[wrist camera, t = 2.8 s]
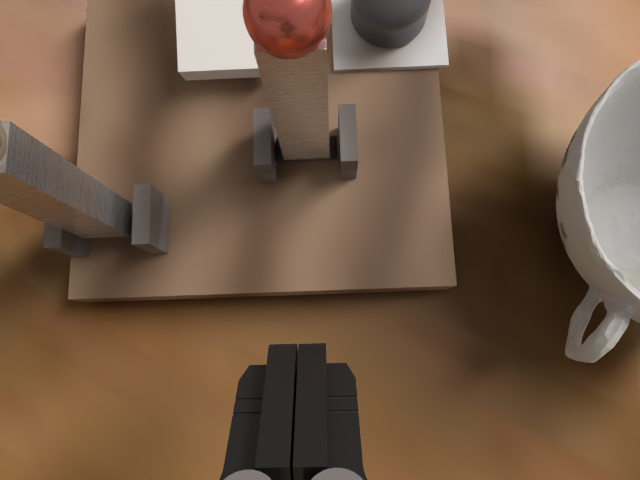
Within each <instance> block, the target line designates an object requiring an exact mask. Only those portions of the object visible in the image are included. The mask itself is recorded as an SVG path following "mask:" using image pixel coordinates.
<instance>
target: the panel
mask: <svg viewBox="0 0 640 480" xmlns="http://www.w3.org/2000/svg"><path fill="white" fill-rule="evenodd" d="M331 3H332V20H331V25H330V28H329V31H328V34H327V36H326V43H327V77H328V114H329V135H337V146H338V160H315V161H291V162H277V157H276V138H278V136H277V133H276V129H275V126H274V122H273V119H272V115H271V112H270V108H269V104H268V101H267V97H266V94H265V90H264V87H263V83H262V79H261V77H255V78H232V79H210V80H188V81H186V80H185V79H184V78H183V77H182V76H181V75H180V73H179V72H178V59H177V35H176V10H175V0H88V3H87V18H86V33H85V48H84V63H83V79H82V94H81V109H80V124H79V139H78V154H77V167H78V168H80V169H81V170H83V171H84V172H86V173H87V174H89V175H90V176H92V177H93V178H95V179H96V180H97V181H99V182H100V183H102V184H103V185H105V186H106V187H108V188H109V189H111V190H112V191H114V192H115V193H117V194H118V195H120V196H121V197H123V198H124V199H126V200H127V201H129V202H130V203H132V211H133V220H132V236H131V237H110V238H82V237H80V236H77V235H75V234H72V233H70V232H67V231H65V230H63V229H60V228H58V227H55V226H53V225H50V224H48V223H45V229H44V242H43V248H45V249H48V250H52V251H55V252H58V253H61V254H64V255H67V256H70V257H71V260H70V275H69V291H68V300H74V301H81V302H87V303H89V302H117V301H145V300H173V299H202V298H230V297H258V296H287V295H315V294H343V293H371V292H400V291H428V290H448V289H451V288H453V287H455V286H457V281H456V270H455V258H454V247H453V235H452V223H451V212H450V200H449V189H448V177H447V166H446V154H445V143H444V131H443V119H442V108H441V96H440V85H439V73H438V68H448V66H449V61H448V50H447V39H446V28H445V17H444V6H443V0H431V3H430V7H429V10H428V14H427V17H426V21H425V24H424V26H423V29H422V30H421V32H420V33H419V34H418V35H417V36H416V37H415V38H414V39H413V40H411V41H410V42H408V43H406V44H404V45H401V46H397V47H380V46H376V45H374V44H371V43H369V42H367V41H366V40H364V39H363V38H362V37H361V36H360V35H359V34H358V33H357V32H356V30H355V28H354V26H353V24H352V21H351V0H331Z"/></svg>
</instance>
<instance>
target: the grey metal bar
mask: <svg viewBox="0 0 640 480" xmlns="http://www.w3.org/2000/svg"><path fill="white" fill-rule="evenodd" d="M0 204H1V205H4V206H6V207H9V208H11V209H14V210H16V211H19V212H21V213H23V214H26V215H28V216H31V217H33V218H36V219H38V220H41V221H43V222H45V223H48V224H50V225H53V226H55V227H58V228H60V229H63V230H65V231H67V232H70V233H72V234H75V235H77V236H80V237H82V238H110V237H131V236H132V220H133V211H132V203H130V202H129V201H127V200H126V199H124V198H123V197H121V196H120V195H118V194H117V193H115V192H114V191H112V190H111V189H109V188H108V187H106V186H105V185H103V184H102V183H100V182H99V181H97V180H96V179H95V178H93V177H92V176H90V175H89V174H87V173H86V172H84V171H83V170H81V169H80V168H78V167H77V166H75V165H74V164H72V163H71V162H69V161H68V160H66V159H65V158H63V157H62V156H60V155H59V154H58V153H56V152H55V151H53V150H52V149H50V148H49V147H47V146H46V145H44V144H43V143H41V142H40V141H38V140H37V139H35V138H34V137H32V136H31V135H29V134H28V133H26V132H25V131H23V130H22V129H21V128H19V127H18V126H16V125H15V124H13V123H12V122H10V121H9V122H1V121H0Z"/></svg>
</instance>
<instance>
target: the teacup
mask: <svg viewBox="0 0 640 480" xmlns="http://www.w3.org/2000/svg"><path fill="white" fill-rule="evenodd" d="M556 215H557V223H558V228H559V232H560V236H561V239H562V243H563V245H564V248H565V250H566V252H567V254H568V256H569V258H570V260H571V262H572V263H573V265H574V267H575V268H576V270H577V271H578V273H579V274H580V275H581V277H582V278H583V279H584V280H585V281H586V282H587V284H588V285H589V290H588V292H587V294H586V296H585V298H584V299H583V301H582V302H581V304H580V305H579V306H578V307H577V308H576V310H575V312H574V313H573V315H572V317H571V321H570V325H569V330H568V337H567V341H566V347H565V355H566V356H567V357H568V358H570V359H573V360H576V361H581V362H588V363H594V362H596V361H597V360H599V359H600V358H601V357H602V356H604V355H605V354H606V353H607V352H609V351H610V350H611V349H612V348H614V346H615V345H616V343H617V342H618V341H619V339H620V338H621V336H622V335H623V333H624V332H625V330H626V329H627V327H628V325H629V321H630V318H631V319H632V320H634V321H636V322H638V323H640V59H639V60H637V61H636V62H635V63H633V64H632V65H631V66H630V67H628V68H627V69H626V70H624V71H623V72H621V73H620V74H619V75H618V76H617V77H616V79H615V80H614V81H613V82H612V83H611V84H610V85H609V87H608V88H607V89H606V90H605V91H604V92H603V94H602V95H601V96H600V97H599V98H598V99H597V101H596V102H595V103H594V104H593V106H592V107H591V108H590V110H589V111H588V112H587V114H586V116H585V117H584V119H583V120H582V122H581V124H580V125H579V127H578V128H577V130H576V132H575V133H574V135H573V137H572V139H571V142H570V144H569V146H568V148H567V150H566V153H565V155H564V158H563V161H562V164H561V169H560V173H559V177H558V181H557V190H556ZM602 301H603V302H604V307H605V308H606V310H607V315H606V317H605V318H604V320H603V321H602V322H601V323H600V325H599V326H598V327H597V329H596V330H595V331H594V332H593V333H592V334H590V335H589V336H588V338H587V339H586V341H585V342H584V343H583V344H582V345H581V343H582V337H583V334H584V331H585V329H586V327H587V325H588V323H589V321H590V318H591V315H592V312H593V311H594V309H595V307H596V306H597V304H598V303H599V302H602Z"/></svg>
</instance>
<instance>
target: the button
mask: <svg viewBox="0 0 640 480" xmlns="http://www.w3.org/2000/svg"><path fill="white" fill-rule="evenodd" d="M430 3H431V0H351V21H352V24H353V26H354V28H355V30H356V32H357V33H358V34H359V35H360V36H361V37H362V38H363V39H364V40H366V41H367V42H369V43H371V44H374V45H376V46H380V47H397V46H401V45H404V44H406V43H408V42H410V41H411V40H413V39H414V38H415V37H416V36H417V35H418V34H419V33H420V32H421V30H422V29H423V26H424V24H425V21H426V17H427V14H428V10H429V7H430Z"/></svg>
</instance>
